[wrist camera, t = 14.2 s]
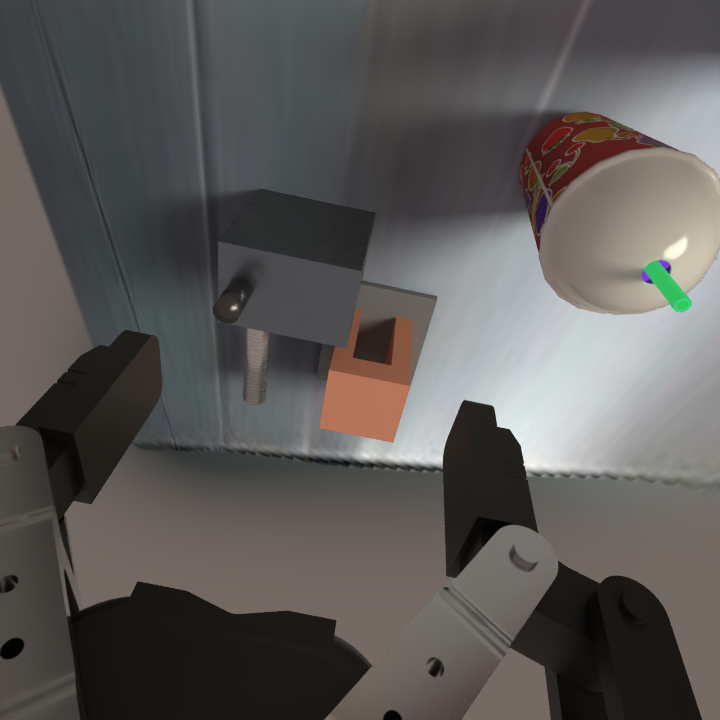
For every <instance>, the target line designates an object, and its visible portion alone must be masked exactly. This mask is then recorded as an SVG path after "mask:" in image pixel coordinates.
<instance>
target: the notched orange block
mask: <svg viewBox="0 0 720 720" xmlns="http://www.w3.org/2000/svg"><path fill="white" fill-rule="evenodd" d="M361 314H362V310H358V309H355V314H354V318H353V322H352V327H351V331H350V336H349V340H348V345H347V348H342V347H337V346H335V349H334V353H333V357H332V361H331V364H330V368H329V373H328V379H327V385H326V391H325V397H324V403H323V409H322V415H321V421H320V427H319V428H322V429H327V430H332V431H337V432H342V433H347V434H352V435H358V436H363V437H368V438H373V439H378V440H383V441H388V442H394V438H395V435H396V432H397V428H398V425H399V422H400V418H401V415H402V412H403V408H404V405H405V402H406V398H407V395H408V392H409V388H410V379H411V356H412V333H413V320H408V319H403V318H398V317H396V320H395V324H394V328H393V332H392V336H391V340H390V344H389V348H388V352H387V356H386V360H385V364H381V363H376V362H371V361H366V360H361V359H356V358H353V354H354V349H355V344H356V339H357V334H358V329H359V324H360V319H361Z"/></svg>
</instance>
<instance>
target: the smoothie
mask: <svg viewBox="0 0 720 720" xmlns="http://www.w3.org/2000/svg"><path fill="white" fill-rule="evenodd" d="M520 183H521V187H522V191H523V195H524V199H525V202H526V206H527V210H528V214H529V218H530V221H531V225H532V229H533V233H534V237H535V241H536V244H537V248H538V252H539V260H540V263H541V267H542V271H543V274H544V278H545V280H546V281H547V283H548V284H549V285H550V286H551V288H552V289H553V290H554V291H555V293H556V294H557V295H558V296H559V297H560V298H562V299H564V300H565V301H567V302H569V303H570V304H572V305H574V306H575V307H577V308H579V309H584V310H589V311H593V312H598V313H609V314H614V315H625V314H642V313H646V312H649V311H653V310H656V309H659V308H663V307H665V306H667V305H669V304H670V305H671V306H672V308H673V309H674V310H675V311H676V312H684V311H686V310H688V309H689V308H690V307H691V304H692V301H691V300H690V299H689V297H688V296H687V295H686V294H687V293H688V292H689V291H690V290H692V289H693V288H694V287H695V286H696V285H697V284H698V283H699V282H701V280H702V279H703V278H704V276H705V275H706V273H707V272H708V270H709V269H710V267H711V266H712V264H713V263H714V261H715V260H716V258H717V255H718V252H719V249H720V179H719V177H718V175H717V174H716V172H715V170H714V169H713V168H711V167H710V166H708V165H707V164H706V163H704V162H703V161H702V160H700V159H699V158H697V157H696V156H695V155H693V154H690V153H686V152H681V151H679V150H677V149H675V148H673V147H671V146H668V145H666V144H664V143H662V142H660V141H657V140H655V139H653V138H651V137H648V136H646V135H644V134H642V133H640V132H637V131H635V130H633V129H631V128H629V127H626V126H624V125H622V124H620V123H617V122H615V121H613V120H611V119H609V118H606V117H604V116H602V115H599V114H594V113H589V112H579V113H573V114H567V115H565V116H562V117H560V118H558V119H556V120H554V121H552V122H550V123H549V124H547V125H546V126H545V127H544V128H543V129H542V130H540V131H539V132H538V133H537V134H536V135H535V137H534V138H533V139H532V141H531V142H530V144H529V145H528V147H527V148H526V150H525V153H524V156H523V159H522V162H521V165H520Z"/></svg>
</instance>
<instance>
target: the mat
mask: <svg viewBox="0 0 720 720" xmlns="http://www.w3.org/2000/svg"><path fill="white" fill-rule="evenodd" d="M436 301H437V296H433V295H428V294H423V293H418V292H413V291H409V290H404V289H399V288H394V287H389V286H385V285H380V284H375V283H370V282H365V281H362V282H361V287H360V291H359V296H358V300H357V305H356V309H358V310H362V314H361V319H360V324H359V329H358V334H357V339H356V344H355V349H354V354H353V358H356V359H361V360H366V361H371V362H376V363H381V364H385V360H386V356H387V352H388V348H389V344H390V340H391V336H392V332H393V328H394V324H395V320H396V317H398V318H403V319H408V320H413V333H412V356H411V379H410V385H411V382H412V379H413V376H414V372H415V369H416V366H417V363H418V360H419V356H420V353H421V350H422V347H423V343H424V340H425V337H426V334H427V330H428V327H429V324H430V321H431V317H432V314H433V311H434V308H435V304H436ZM334 349H335V346H332V345H327V344H322V345H321V351H320V357H319V364H318V370H317V377H316V378H320V379H325V380H327V379H328V373H329V368H330V364H331V361H332V357H333V353H334ZM409 389H410V388H409Z"/></svg>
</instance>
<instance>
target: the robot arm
mask: <svg viewBox="0 0 720 720" xmlns="http://www.w3.org/2000/svg"><path fill="white" fill-rule="evenodd" d="M161 390H162V372H161V360H160V349H159V341H158V338H157V337H156V336H153V335H148V334H144V333H139V332H134V331H129V330H125V331H123V332H122V333H121V334H120V335H119V336H118V337H117V338H116V340H115V341H114V342H113V343H112V344H111V345H110V346H109V347H108V346H103V345H100V346H98V347H96V348H94V349H92V350H90V351H88V352H87V353H85V354H83V355H81V356H80V357H79V358H78V359H77V360H76V361H75V362H74V363H73V364H72V365H71V366H70V368H69V369H68V372H65V373H64V374H63V375H62V376H61V377H60V378H59V379H58V380H57V383H55V384H53V386H52V387H51V388H50V389H49V390H48V391H47V392H46V393H45V394H44V395H43V396H42V397H41V398H40V399H39V401H37V403H36V404H35V405H34V406H33V407H32V408H31V409H30V410H29V411H28V412H27V413H26V414H25V416H23V417H22V418H21V420H20V421H19V422H18V423H17V424H16V425H14V426H5V427H0V720H462V718H463V717H464V715H465V714H466V712H467V711H468V709H469V708H470V706H471V705H472V703H473V702H474V701H475V699H476V698H477V696H478V695H479V693H480V692H481V690H482V689H483V687H484V685H485V684H486V683H487V681H488V679H489V678H490V677H491V675H492V674H493V672H494V671H495V669H496V668H497V666H498V665H499V663H500V662H501V660H502V659H503V657H504V656H505V654H506V653H507V651H508V649H509V648H512V649H514V650H516V651H517V652H519V653H521V654H523V655H525V656H526V657H528V658H530V659H532V660H534V661H535V662H537V663H539V664H541V665H543V666H544V667H545V674H546V682H547V690H548V699H549V706H550V716H551V720H702V718H701V715H700V712H699V709H698V706H697V703H696V700H695V697H694V694H693V691H692V688H691V685H690V681H689V678H688V675H687V672H686V670H685V666H684V663H683V660H682V657H681V654H680V651H679V648H678V645H677V642H676V639H675V636H674V633H673V630H672V627H671V623H670V620H669V618H668V615H667V613H666V611H665V609H664V607H663V605H662V604H661V603H660V602H659V600H658V599H657V598H656V597H655V595H654V594H653V593H652V592H651V591H650V590H648V589H647V588H646V587H645V586H643V585H642V584H640V583H638V582H637V581H635V580H633V579H630V578H627V577H624V576H610V577H608V578H606V579H604V580H603V581H602V582H601V583H600V584H599V583H598V582H596V581H594V580H592V579H590V578H588V577H586V576H584V575H582V574H579V573H578V572H576V571H574V570H572V569H570V568H568V567H566V566H565V565H563V564H562V563H561V562H559V561H558V560H557V557H556V555H555V552H554V550H553V549H552V547H551V546H550V544H549V543H548V542H547V541H546V540H545V539H544V538H543V537H542V536H541V535H539V534H538V530H537V525H536V520H535V515H534V510H533V505H532V500H531V495H530V490H529V485H528V480H526V477H527V476H526V471H525V466H523V464H524V461H523V456H522V451H521V446H520V444H519V443H518V441H517V440H516V438H515V437H514V435H513V434H512V432H511V431H510V429H505V428H500V427H497V422H496V416H495V410H494V407H493V406H491V405H486V404H482V403H477V402H472V401H467V400H464V401H463V402H462V404H461V406H460V409H459V411H458V414H457V416H456V418H455V421H454V423H453V426H452V428H451V431H450V433H449V436H448V438H447V441H446V445H445V449H444V455H443V480H444V481H443V483H444V512H445V513H444V514H445V545H446V576H448V577H453V578H456V579H455V580H454V581H453V582H452V583H451V584H450V586H448V587H447V588H445V587H444V588H442V589H441V590H440V591H439V592H438V593H437V594H436V595H435V596H434V597H433V599H432V600H431V601H430V602H429V603H428V604H427V605H426V606H425V607H424V609H423V610H422V611H421V612H420V613H419V614H418V616H416V618H415V619H414V620H413V621H412V622H411V623H410V624H409V625H408V627H407V628H406V629H405V630H404V631H403V632H402V633H401V634H400V635H399V637H398V638H397V639H396V640H395V641H394V642H393V643H392V644H391V646H390V647H389V648H388V649H387V650H386V651H385V652H384V653H383V655H382V656H381V657H380V658H379V659H378V660H377V661H376V662H375V664H374V665H373V666H372V665H371V664H370V663H369V662H368V660H367V659H366V658H365V657H364V656H363V655H362V654H361V653H360V652H359V651H358V650H356V649H355V648H354V647H353V646H352V645H350V644H349V643H347V642H346V641H344V640H343V639H341V638H339V637H337V636H335V635H334V633H335V626H336V620H332V619H327V618H322V617H317V616H312V615H307V614H302V613H297V612H291V611H278V612H264V613H249V614H232V613H229V612H227V611H225V610H223V609H221V608H219V607H217V606H215V605H213V604H211V603H209V602H207V601H205V600H203V599H201V598H199V597H197V596H196V595H194V594H192V593H190V592H188V591H184V590H179V589H174V588H169V587H164V586H159V585H154V584H149V583H143V582H137V584H136V586H135V588H134V590H133V592H132V594H131V596H130V597H121V598H117V599H111V600H108V601H104V602H101V603H98V604H95V605H93V606H90V607H88V608H85V609H84V607H83V603H82V599H81V596H80V591H79V586H78V581H77V576H76V570H75V565H74V560H73V553H72V548H71V543H70V537H69V531H68V525H67V520H66V516H65V512H66V511H67V509H68V508H69V506H70V505H71V503H72V502H73V501H78V502H83V503H88V504H92V502H93V501H94V499H95V498H96V496H97V495H98V493H99V492H100V490H101V489H102V487H103V486H104V484H105V483H106V481H107V479H108V478H109V476H110V475H111V473H112V472H113V470H114V468H115V467H116V466H117V464H118V463H119V461H120V459H121V458H122V456H123V455H124V453H125V452H126V450H127V449H128V447H129V446H130V444H131V443H132V441H133V440H134V438H135V436H136V435H137V433H138V432H139V430H140V429H141V427H142V426H143V424H144V423H145V421H146V420H147V418H148V416H149V415H150V413H151V412H152V410H153V409H154V407H155V406H156V404H157V402H158V400H159V397H160V394H161Z"/></svg>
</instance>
